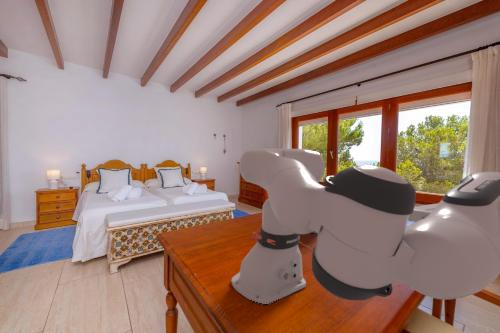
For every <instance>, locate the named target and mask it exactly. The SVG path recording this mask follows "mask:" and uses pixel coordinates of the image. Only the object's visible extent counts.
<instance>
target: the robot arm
mask: <svg viewBox="0 0 500 333" xmlns="http://www.w3.org/2000/svg"><path fill="white" fill-rule="evenodd" d="M238 170H239V173H240V176H241V177H242V179H243V180H244V181H245V182H248V183H251V184H253V185H257V186H259V187H260V188H262V189H264V190H265V191H266V193H267V197H268V198H267V199H265V201H264V202H263V204H262V208H261V209H262V210H261V211H262V214H261V221H262V222H261V227H260V229H259V233H257V231H253V232H252V234H251V239H253V240H255V241H257V242H256V243H255V244H254V245H253V247H252V248H251V249H250V250H249V251H248V253H247V254H246V256H245V257H244V258H242V260H241V263H240V269H239V272H238V273H236V274H235V275H234V276H232V277H231V280H230V281H231V285H232V287H233V288H234V289H235V291H236V292H238V293H239V294H241V295H242V296H243V297H245V298H246V299H247V300H250V301H251V300H252V301H251V302H253V301H255V302H254V303H256V302H258V303H257V304H259V303H262V304H261V305H263V304H268V305H270V304H272V303H274V302H273V301H275V302H276V300H277V301H279V300H281V299H283V298H285V297H287V296H289V295H291V294H293V293H295V292H297V291H299V290H302V289H304V288H306V286H307V282H306V279H305V278H304V277H303V276H304V274H303V273H304V272H303V256H302V253H301V251H300V248H299V244H300V237H301V236H300V235H307V234H310V233H311V232H314V231H315V232H316V233H315V234H317V238H316V242H315V247H313V250H312V254H311V255H312V256H311V268H312V269H311V270H312V275H313V276H314V278H315V280H316V281H317V282H318V283H319V284H320V285H321V286H322V288H324V289H325V290H326V291H327V292H329V294H331V295H333V296H335V297H337V298H339V299H342V300H347V301H365V300H366V301H367V300H369V299H372V298H374V297H376V296H377V297H382V298H387V297H389V296H391V295H392V292H393V284H394V283H403V284H405V285H407V286H408V287H410V288H411V289H412V290H414V291H416V292H417V293H420V294H422V295H424V296H426V297H429V298H432V299H436V300H449V301H450V300H455V299H462V298H465V297H469V296H472V295H475V294H477V293H479V292H482V290H484V289H486V288H487V287H489V286H490V285H492V283H493V282H494V281H495V280H496V279H497V278H498V277H499V276H500V172H498V171H497V172H496V171H483V172H476V173H470V174H468V175H466V176H465V177H463V178H462V179H461V180H459V184H457V185H456V186H453V187H452V188H451V189H449V190H448V191H447V192H446V193H445V194H444V195H443V196H442V198H441V200H440V201H439V202H438V203H432V204H419V203H416V197H417V193H416V188H414V185H413V184H412V183H411V182H410V181H409V180H408V179H406V178H404V177H402V176H401V175H399V174H398V173H397V172H395V171H393V170H391V169H388V168H386V167H383V166H379V165H372V164H371V165H368V164H367V165H352V166H350V167H346V168H344V169H342V170H340V171H338V172H337V173H336V174H334V175H328V176H326V177H325V178H324V175H325V171H326V164H325V160H324V158H323V156H322V155H321V154H320V152H318V151H314V150H310V149H306V148H305V149H304V148H267V147H266V148H265V147H264V148H254V149H249V150H245V152H244V153H243V154H242V155H241V157H240V159H239V164H238ZM323 178H324V179H323ZM322 179H323V184H324V185H325V186H324V185H323V184H320V183H319V182H320V181H321V180H322ZM409 222H413V223H411V224H410V225H407V224H408V223H409ZM311 234H312V233H311ZM278 299H279V300H278ZM271 302H272V303H271ZM269 303H270V304H269Z"/></svg>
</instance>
